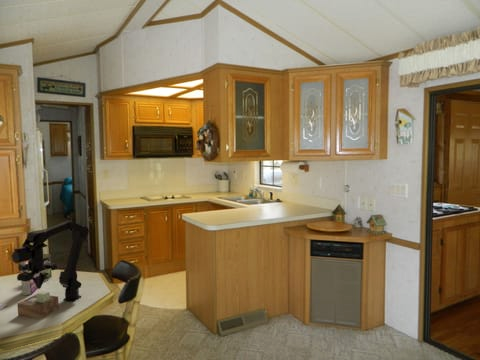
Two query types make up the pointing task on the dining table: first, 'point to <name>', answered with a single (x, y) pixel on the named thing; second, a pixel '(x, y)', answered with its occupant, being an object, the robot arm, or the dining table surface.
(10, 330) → the dining table surface
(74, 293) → the robot arm
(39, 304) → the walnut block
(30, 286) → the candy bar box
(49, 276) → the coffee can
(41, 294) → the sage peg
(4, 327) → the dining table surface
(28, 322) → the dining table surface
